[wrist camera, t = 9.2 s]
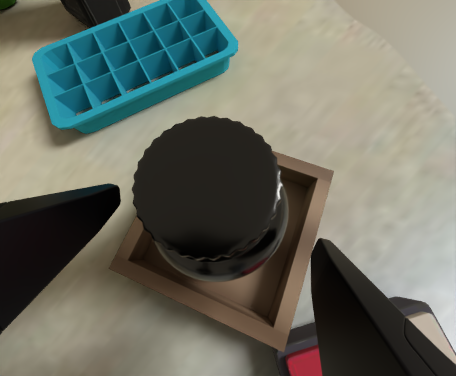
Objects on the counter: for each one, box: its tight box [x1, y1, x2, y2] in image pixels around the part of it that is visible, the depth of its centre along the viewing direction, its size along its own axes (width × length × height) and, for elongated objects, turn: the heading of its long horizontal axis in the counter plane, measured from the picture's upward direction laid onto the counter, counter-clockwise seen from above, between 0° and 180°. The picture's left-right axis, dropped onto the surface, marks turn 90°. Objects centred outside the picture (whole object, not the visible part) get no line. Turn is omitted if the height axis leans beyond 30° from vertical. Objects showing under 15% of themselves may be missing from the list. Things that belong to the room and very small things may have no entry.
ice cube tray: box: [32, 0, 238, 134], centre depth 24 cm, size 12×20×3 cm, turn 118°
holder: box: [109, 151, 334, 352], centre depth 17 cm, size 13×13×3 cm
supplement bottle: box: [132, 116, 289, 282], centre depth 12 cm, size 7×7×12 cm
